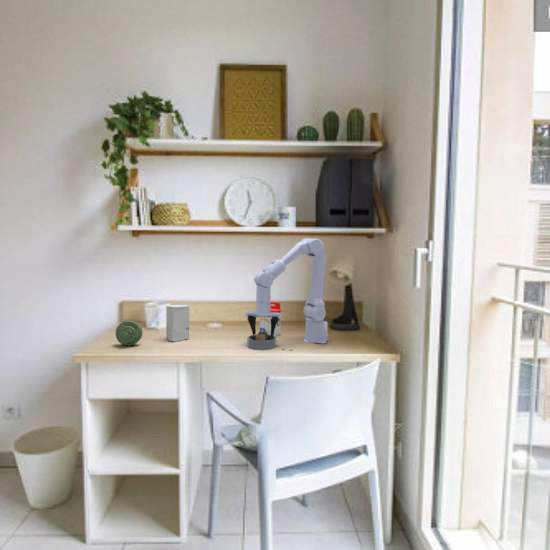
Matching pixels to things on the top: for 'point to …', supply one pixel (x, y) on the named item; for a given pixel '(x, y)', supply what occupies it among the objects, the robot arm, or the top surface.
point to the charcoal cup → (261, 343)
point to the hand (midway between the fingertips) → (263, 334)
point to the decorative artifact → (129, 332)
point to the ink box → (266, 322)
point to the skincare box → (177, 322)
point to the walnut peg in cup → (260, 337)
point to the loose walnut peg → (264, 334)
